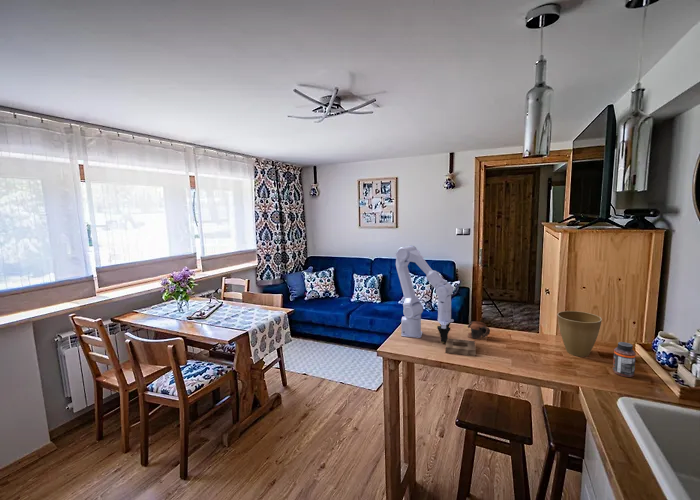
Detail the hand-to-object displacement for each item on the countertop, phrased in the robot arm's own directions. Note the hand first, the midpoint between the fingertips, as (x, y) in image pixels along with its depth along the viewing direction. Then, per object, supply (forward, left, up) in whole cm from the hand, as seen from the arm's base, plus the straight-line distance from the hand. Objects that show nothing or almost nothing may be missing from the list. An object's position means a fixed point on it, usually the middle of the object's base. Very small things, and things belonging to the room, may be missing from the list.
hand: (444, 338), depth 148 cm
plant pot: (+53, +3, -2) cm, 53 cm away
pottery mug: (+15, +12, -2) cm, 19 cm away
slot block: (+7, -6, -2) cm, 9 cm away
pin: (0, 0, -2) cm, 2 cm away
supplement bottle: (+63, -12, -2) cm, 64 cm away
